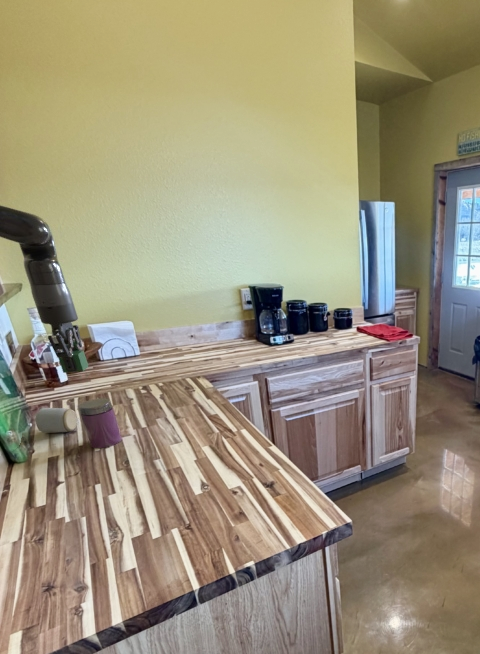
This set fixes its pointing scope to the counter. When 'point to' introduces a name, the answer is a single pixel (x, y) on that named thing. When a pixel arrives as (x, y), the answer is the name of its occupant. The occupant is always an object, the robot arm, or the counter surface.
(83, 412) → the jar lid
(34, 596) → the counter surface
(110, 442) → the jar
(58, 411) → the grey canister
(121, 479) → the counter surface
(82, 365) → the block
